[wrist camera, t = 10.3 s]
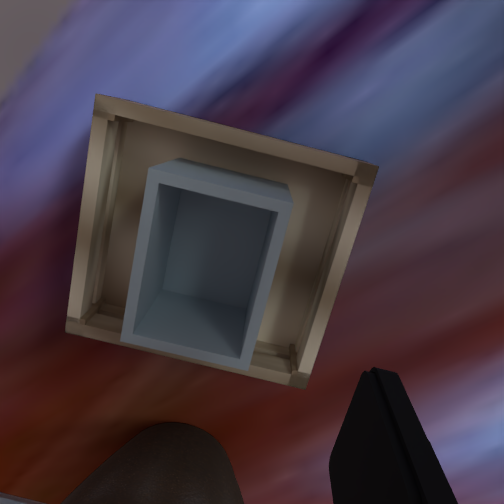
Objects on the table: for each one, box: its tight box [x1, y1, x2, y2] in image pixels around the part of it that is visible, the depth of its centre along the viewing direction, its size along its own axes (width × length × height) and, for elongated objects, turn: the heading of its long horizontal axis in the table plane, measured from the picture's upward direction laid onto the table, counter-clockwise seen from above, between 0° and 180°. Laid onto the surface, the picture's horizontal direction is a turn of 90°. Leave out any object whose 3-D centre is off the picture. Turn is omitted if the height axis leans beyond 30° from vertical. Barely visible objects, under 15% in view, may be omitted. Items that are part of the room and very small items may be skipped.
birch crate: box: [65, 94, 379, 389], centre depth 23 cm, size 12×13×4 cm
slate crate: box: [120, 158, 294, 371], centre depth 21 cm, size 8×6×6 cm
